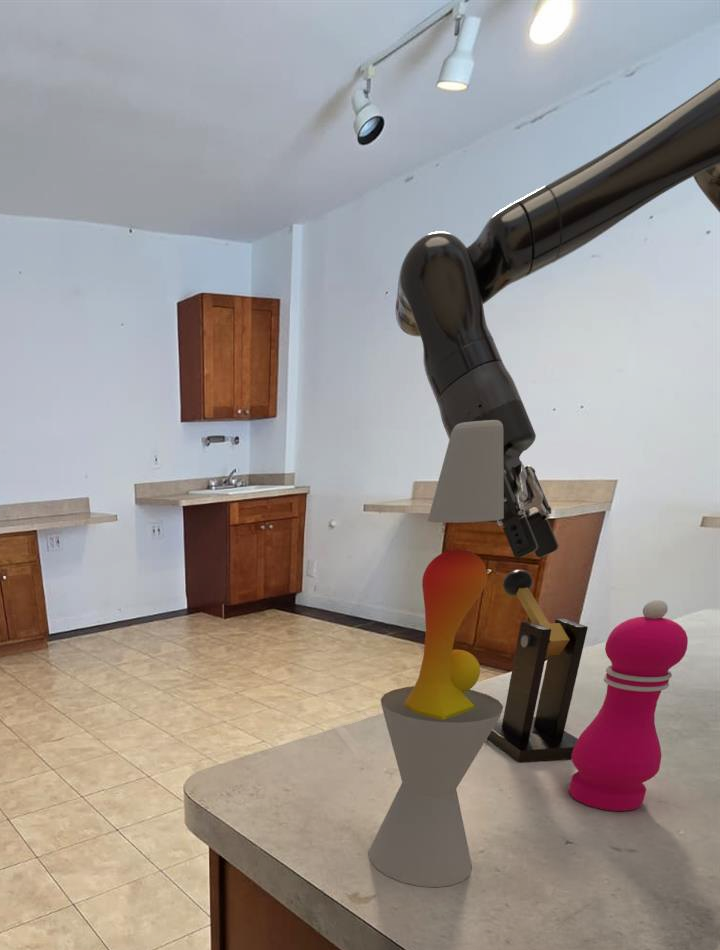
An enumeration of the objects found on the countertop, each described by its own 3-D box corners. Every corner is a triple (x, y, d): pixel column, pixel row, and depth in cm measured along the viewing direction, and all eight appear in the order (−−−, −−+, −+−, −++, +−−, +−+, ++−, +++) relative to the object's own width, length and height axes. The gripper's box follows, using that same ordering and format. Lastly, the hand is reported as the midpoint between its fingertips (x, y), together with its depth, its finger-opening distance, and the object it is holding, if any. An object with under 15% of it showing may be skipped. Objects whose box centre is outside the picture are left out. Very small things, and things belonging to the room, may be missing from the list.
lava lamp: (430, 901, 52) (504, 415, 37) (345, 854, 59) (378, 429, 44) (496, 863, 56) (585, 412, 41) (408, 823, 63) (458, 426, 49)
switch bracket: (476, 731, 83) (495, 617, 77) (538, 727, 83) (562, 612, 77) (518, 762, 74) (543, 636, 68) (587, 758, 74) (619, 631, 68)
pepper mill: (658, 818, 61) (725, 608, 53) (571, 809, 64) (621, 607, 55) (635, 785, 67) (691, 592, 59) (556, 778, 70) (599, 592, 61)
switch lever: (494, 586, 81) (505, 565, 78) (520, 584, 81) (531, 563, 78) (534, 659, 74) (547, 638, 71) (562, 657, 73) (576, 636, 71)
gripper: (498, 386, 64) (559, 535, 63) (538, 407, 73) (591, 536, 73) (427, 435, 69) (482, 572, 69) (472, 448, 79) (521, 569, 78)
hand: (538, 554), depth 71 cm, fingers open, 8 cm apart
